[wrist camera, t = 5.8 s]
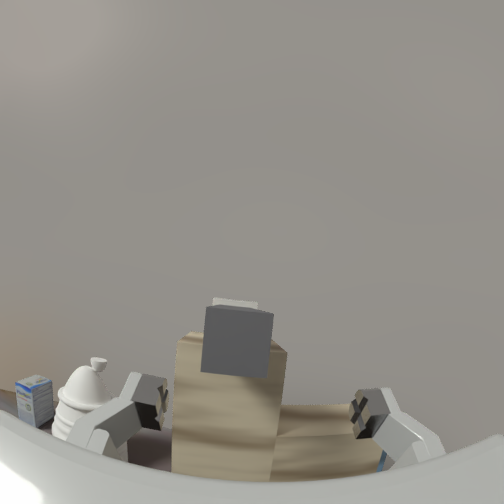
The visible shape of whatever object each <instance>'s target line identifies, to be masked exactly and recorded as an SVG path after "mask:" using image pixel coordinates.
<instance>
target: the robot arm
mask: <svg viewBox="0 0 504 504" xmlns="http://www.w3.org/2000/svg"><path fill="white" fill-rule="evenodd" d="M166 388H167V379H166V378H161V377H156V376H151V375H146V374H142V373H137V372H131V373H130V375H129V377H128V379H127V381H126V383H125V386H124V388H123V390H122V392H121V394H120V397H119V398H117V397H115V398H114V399H112V400H110V401H108V402H107V403H105V404H103V405H102V406H100V407H98V408H96V409H95V410H93V411H91V412H89V413H88V414H86V415H84V416H82V417H81V418H79V419H77V420H76V421H75V423H74V425H73V427H72V429H71V431H70V433H69V435H68V437H67V439H66V441H64V440H62V439H60V438H57V437H55V436H53V435H50V434H48V433H46V432H44V431H42V430H40V429H38V428H36V427H34V426H32V425H30V424H28V423H26V422H24V421H22V420H20V419H18V418H17V417H15V416H13V415H11V414H9V413H8V412H5V411H3V410H0V504H504V435H502V434H494V435H492V436H490V437H488V438H485V439H483V440H481V441H479V442H476V443H474V444H471V445H469V446H466V447H464V448H462V449H459V450H456V451H453V452H450V453H448V454H446V452H445V450H444V448H443V446H442V443H441V441H440V439H439V437H438V436H437V435H436V434H435V433H433V432H432V431H430V430H429V429H427V428H426V427H425V426H423V425H422V424H420V423H419V422H417V421H416V420H415V419H413V418H412V417H410V416H409V415H407V414H406V413H405V412H401V411H400V409H399V407H398V404H397V402H396V400H395V398H394V396H393V394H392V391H391V389H390V388H374V389H362V390H358V391H357V392H356V394H355V397H356V399H355V400H353V401H352V402H351V404H350V406H349V419H350V421H351V422H352V423H353V424H354V426H353V428H352V429H353V432H354V436H355V439H366V438H372V439H373V440H374V441H375V442H376V443H377V444H378V445H379V446H380V447H381V448H382V449H383V450H384V451H385V452H386V453H387V454H388V455H389V456H390V457H391V458H392V459H393V460H394V461H395V463H394V464H393V465H392V467H390V469H389V470H386V471H381V472H376V473H371V474H365V475H359V476H352V477H345V478H337V479H327V480H315V481H298V482H251V481H234V480H222V479H212V478H204V477H196V476H189V475H183V474H177V473H172V472H167V471H162V470H157V469H152V468H148V467H144V466H140V465H136V464H132V463H128V462H125V461H122V459H121V457H120V455H119V453H118V451H117V448H119V447H120V446H121V445H122V444H124V443H125V442H126V441H127V440H128V439H130V438H131V437H132V436H133V435H134V434H136V433H137V432H138V431H139V430H140V429H142V427H143V428H149V429H154V430H159V431H161V429H162V425H163V422H164V414H163V413H165V412H166V411H167V407H168V402H169V393H168V390H167V389H166Z"/></svg>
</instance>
